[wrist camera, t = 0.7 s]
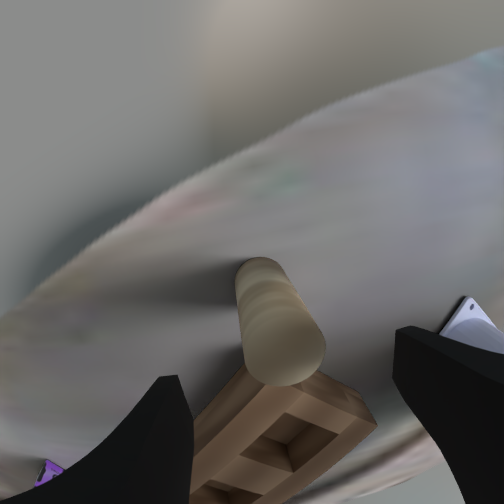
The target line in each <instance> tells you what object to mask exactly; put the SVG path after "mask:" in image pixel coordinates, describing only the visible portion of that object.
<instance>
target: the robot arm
mask: <svg viewBox="0 0 504 504" xmlns="http://www.w3.org/2000/svg"><path fill="white" fill-rule="evenodd" d="M470 306H471V307H470ZM392 378H393V380H394V382H395V384H396V386H397V388H398V390H399V392H400V394H401V395H402V397H403V399H404V401H405V402H406V403H407V405H408V406H409V407H410V409H411V410H412V412H413V413H414V414H415V416H416V417H417V418H418V420H419V421H420V422H421V424H422V425H423V426H424V428H425V429H426V430H427V432H428V433H429V434H430V436H431V437H432V438H433V440H434V441H435V443H436V444H437V446H438V447H439V449H440V450H441V452H442V454H443V456H444V458H445V460H446V461H447V463H448V465H449V467H450V469H451V471H452V473H453V475H454V478H455V480H456V482H457V484H458V486H459V488H460V491H461V493H462V496H463V498H464V501H465V504H504V333H503V332H501V331H500V330H498V329H497V328H496V327H495V325H494V324H493V323H492V322H491V320H490V319H489V318H488V317H487V315H486V314H485V313H484V312H483V310H482V309H481V308H480V307H479V306H478V304H477V303H476V302H475V301H474V300H473V298H471V297H469V296H467V297H466V298H465V299H464V300H463V302H462V303H461V305H460V306H459V307H458V309H457V310H456V312H455V313H454V315H453V316H452V317H451V319H450V320H449V321H448V323H447V324H446V326H445V327H444V328H443V330H442V331H441V332H440V333H439V334H436V333H433V332H430V331H428V330H425V329H422V328H418V327H415V326H407V327H404V328H401V329H398V330H396V333H395V350H394V363H393V375H392ZM193 455H194V420H193V418H192V415H191V412H190V410H189V407H188V404H187V401H186V398H185V396H184V393H183V390H182V387H181V384H180V381H179V378H178V375H171V376H162V377H159V378H158V379H157V380H156V381H155V382H154V384H153V385H152V386H151V387H150V389H149V390H148V391H147V392H146V394H145V395H144V396H143V397H142V399H141V400H140V401H139V402H138V404H137V405H136V406H135V407H134V408H133V410H132V411H131V412H130V413H129V414H128V416H127V417H126V418H125V419H124V420H123V421H122V422H121V423H120V424H119V425H118V426H117V427H116V428H115V429H114V431H113V432H112V433H111V434H110V435H109V436H108V437H107V438H106V439H105V440H104V441H103V442H101V443H100V444H99V445H98V446H97V447H96V448H95V449H93V450H92V451H91V452H90V453H89V454H88V455H86V456H85V457H84V458H82V459H81V460H80V461H78V462H77V463H75V464H74V465H72V466H71V467H70V468H68V469H67V470H65V471H64V472H62V473H61V474H59V475H57V476H56V477H54V478H52V479H50V480H49V481H47V482H45V483H43V484H41V485H39V486H37V487H35V488H33V489H31V490H28V491H26V492H24V493H21V494H18V495H16V496H13V497H10V498H8V499H5V500H2V501H0V504H189V495H190V485H191V475H192V465H193Z"/></svg>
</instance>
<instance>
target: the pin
mask: <svg viewBox="0 0 504 504" xmlns="http://www.w3.org/2000/svg"><path fill="white" fill-rule="evenodd" d="M235 291H236V299H237V307H238V315H239V323H240V331H241V338H242V346H243V354H244V361H245V365H246V367H247V370H248V371H249V373H250V374H251V375H252V376H253V377H254V378H255V379H257V380H258V381H260V382H262V383H264V384H267V385H271V386H289V385H293V384H296V383H299V382H301V381H303V380H305V379H307V378H308V377H309V376H311V375H312V374H313V373H314V372H315V371H316V370H317V369H318V367H319V366H320V364H321V363H322V361H323V358H324V355H325V350H326V345H325V339H324V336H323V334H322V332H321V331H320V329H319V327H318V326H317V324H316V323H315V321H314V319H313V318H312V316H311V314H310V313H309V311H308V309H307V308H306V306H305V305H304V303H303V301H302V300H301V298H300V296H299V295H298V293H297V291H296V290H295V288H294V287H293V285H292V283H291V282H290V280H289V279H288V277H287V275H286V274H285V272H284V270H283V269H282V267H281V266H280V265H279V264H278V263H277V262H276V261H274V260H272V259H270V258H265V257H257V258H253V259H250V260H248V261H246V262H245V263H244V264H243V265H242V266H241V267H240V268H239V269H238V271H237V273H236V276H235Z"/></svg>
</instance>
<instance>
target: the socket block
mask: <svg viewBox="0 0 504 504" xmlns="http://www.w3.org/2000/svg"><path fill="white" fill-rule="evenodd" d="M377 426H378V425H377V423H376V421H375V420H374V418H373V416H372V415H371V413H370V411H369V410H368V408H367V406H366V404H365V403H364V401H363V399H362V398H361V396H360V394H359V393H358V392H357V391H355V390H353V389H351V388H349V387H347V386H345V385H343V384H342V383H340V382H338V381H336V380H334V379H332V378H330V377H328V376H326V375H325V374H323V373H321V372H319V371H317V370H316V371H315V372H314V373H313V374H312V375H311V376H309V377H308V378H307V379H305V380H303V381H301V382H299V383H296V384H293V385H289V386H271V385H267V384H264V383H262V382H260V381H258V380H257V379H255V378H254V377H253V376H252V375H251V374H250V373H249V371H248V370H247V367H246V365H245V363H244V364H243V365H242V367H241V368H240V369H239V370H238V371H237V372H236V374H235V375H234V376H233V377H232V378H231V379H230V381H229V382H228V383H227V384H226V385H225V386H224V387H223V388H222V390H221V391H220V392H219V393H218V394H217V395H216V396H215V398H214V399H213V400H212V401H211V402H210V403H209V404H208V405H207V406H206V408H205V409H204V410H203V411H202V412H201V413H200V414H199V415H198V416H197V417H196V419H195V420H194V455H193V465H192V475H191V485H190V495H189V504H282V503H283V502H285V501H286V500H288V499H289V498H291V497H292V496H293V495H295V494H296V493H298V492H299V491H300V490H302V489H303V488H305V487H306V486H307V485H309V484H310V483H311V482H313V481H314V480H315V479H317V478H318V477H319V476H321V475H322V474H323V473H324V472H326V471H327V470H328V469H329V468H331V467H332V466H333V465H334V464H336V463H337V462H338V461H339V460H340V459H342V458H343V457H344V456H345V455H346V454H348V453H349V452H350V451H351V450H352V449H353V448H354V447H356V446H357V445H358V444H359V443H360V442H361V441H362V440H363V439H364V438H366V437H367V436H368V435H369V434H370V433H371V432H372V431H373V430H374V429H375V428H376V427H377Z"/></svg>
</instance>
